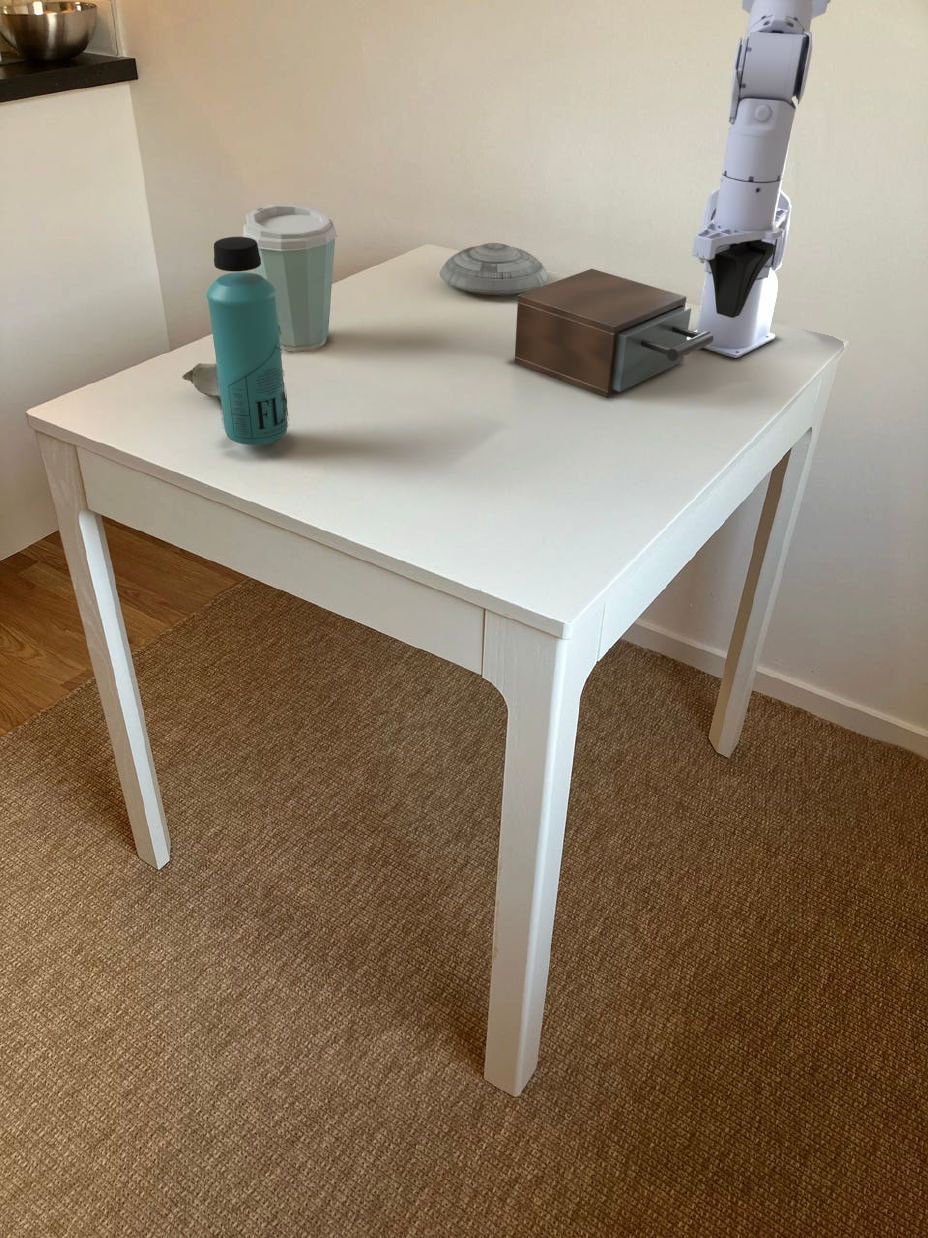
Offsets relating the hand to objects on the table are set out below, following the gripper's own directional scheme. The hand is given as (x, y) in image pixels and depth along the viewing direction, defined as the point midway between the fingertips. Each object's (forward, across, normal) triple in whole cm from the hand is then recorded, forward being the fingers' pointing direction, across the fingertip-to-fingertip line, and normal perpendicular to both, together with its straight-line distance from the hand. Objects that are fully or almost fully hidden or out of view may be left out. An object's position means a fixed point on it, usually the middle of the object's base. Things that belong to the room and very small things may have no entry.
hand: (728, 314), depth 108 cm
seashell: (+10, -36, +39) cm, 54 cm away
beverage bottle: (+10, -41, +27) cm, 50 cm away
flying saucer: (+10, +12, +43) cm, 46 cm away
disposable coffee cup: (+10, -21, +45) cm, 51 cm away
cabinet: (+10, 0, +16) cm, 19 cm away
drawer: (+9, 0, +12) cm, 15 cm away
